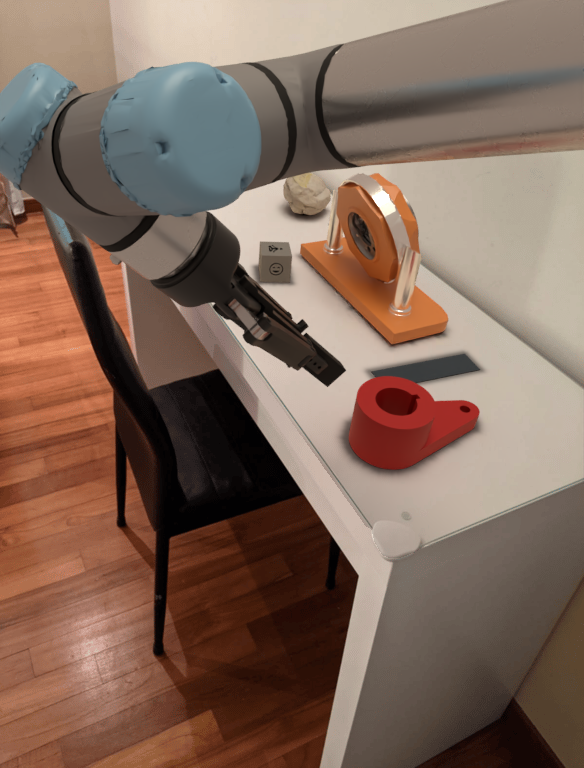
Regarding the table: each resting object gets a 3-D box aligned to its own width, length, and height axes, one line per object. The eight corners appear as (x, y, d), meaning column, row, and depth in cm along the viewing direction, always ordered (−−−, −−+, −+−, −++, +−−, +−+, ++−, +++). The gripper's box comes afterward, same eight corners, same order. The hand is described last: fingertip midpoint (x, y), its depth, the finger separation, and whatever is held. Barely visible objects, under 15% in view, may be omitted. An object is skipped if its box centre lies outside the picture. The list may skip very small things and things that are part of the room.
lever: (371, 477, 71) (381, 437, 67) (335, 424, 78) (343, 384, 73) (494, 442, 78) (510, 403, 73) (452, 396, 84) (464, 358, 80)
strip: (480, 369, 89) (480, 369, 89) (384, 389, 84) (384, 388, 84) (464, 354, 92) (464, 353, 92) (371, 371, 87) (371, 371, 87)
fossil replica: (322, 199, 133) (278, 203, 132) (323, 160, 128) (276, 164, 127) (337, 219, 124) (289, 223, 122) (338, 178, 119) (288, 182, 117)
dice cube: (258, 267, 107) (259, 241, 104) (286, 268, 108) (288, 242, 105) (260, 282, 103) (262, 255, 100) (289, 282, 104) (292, 256, 101)
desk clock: (388, 347, 92) (417, 222, 79) (297, 256, 112) (308, 144, 99) (452, 332, 97) (489, 211, 84) (353, 247, 117) (371, 139, 104)
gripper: (130, 240, 54) (287, 361, 71) (161, 320, 45) (332, 438, 62) (189, 179, 53) (335, 317, 69) (233, 250, 44) (389, 389, 60)
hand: (333, 374), depth 65 cm, fingers closed
